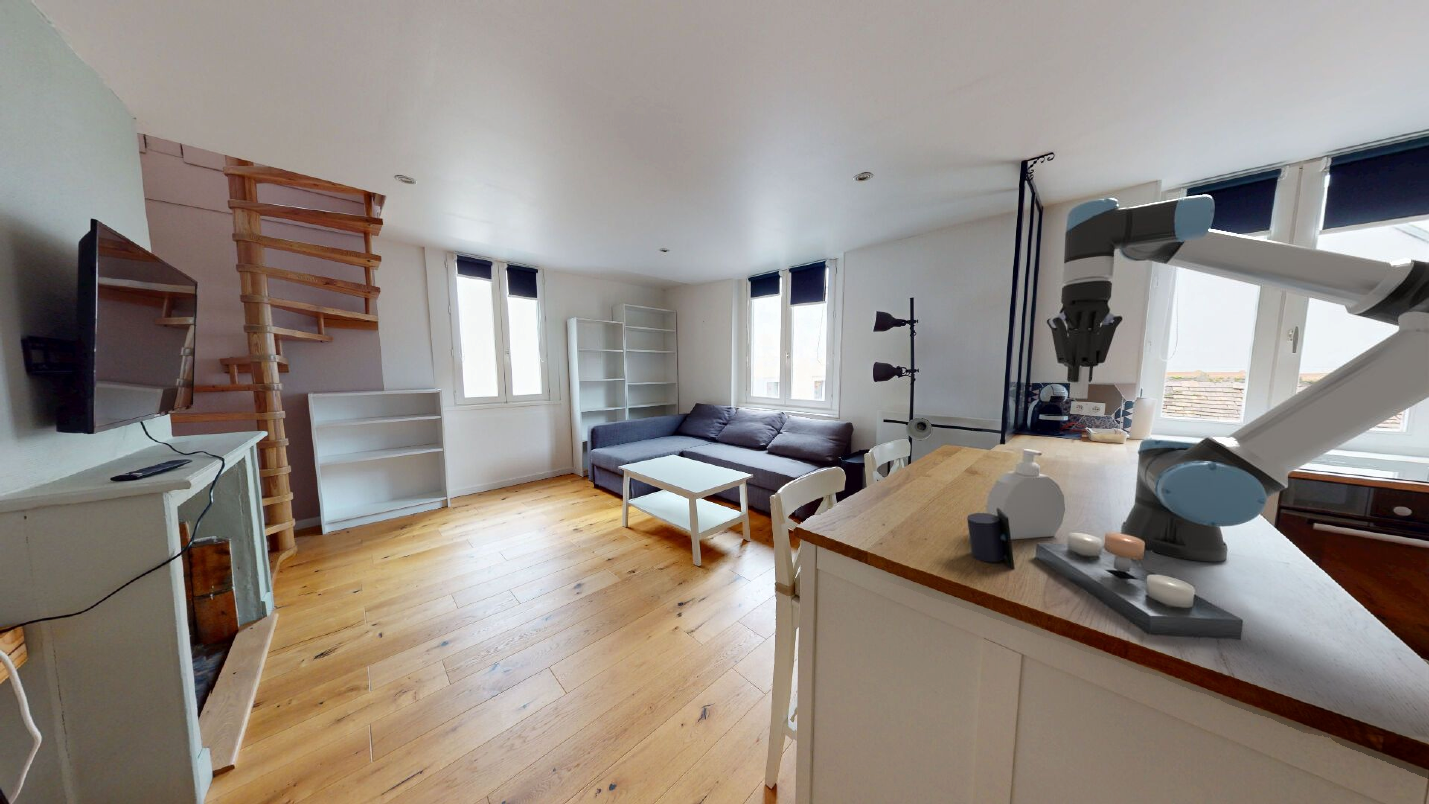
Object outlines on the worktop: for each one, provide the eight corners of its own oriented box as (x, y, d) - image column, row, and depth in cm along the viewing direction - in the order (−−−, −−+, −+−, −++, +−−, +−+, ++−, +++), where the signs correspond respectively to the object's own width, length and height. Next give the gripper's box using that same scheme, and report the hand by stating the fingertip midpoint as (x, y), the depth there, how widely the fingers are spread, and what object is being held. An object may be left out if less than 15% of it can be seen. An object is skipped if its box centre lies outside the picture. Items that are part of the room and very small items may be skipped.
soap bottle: (1003, 541, 90) (1008, 454, 88) (984, 531, 95) (988, 449, 93) (1065, 536, 92) (1071, 451, 90) (1043, 527, 97) (1049, 446, 95)
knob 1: (1086, 559, 80) (1088, 533, 80) (1107, 571, 75) (1109, 543, 75) (1060, 558, 81) (1062, 532, 80) (1079, 570, 76) (1081, 542, 75)
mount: (1098, 558, 81) (1100, 544, 81) (1241, 639, 58) (1243, 619, 57) (1035, 556, 83) (1036, 542, 82) (1149, 635, 59) (1150, 615, 58)
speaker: (1016, 557, 82) (1012, 507, 81) (1014, 569, 78) (1010, 518, 77) (972, 550, 87) (968, 503, 86) (968, 561, 83) (964, 512, 82)
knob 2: (1168, 607, 64) (1171, 575, 64) (1201, 627, 59) (1204, 592, 59) (1135, 606, 65) (1138, 574, 64) (1165, 625, 60) (1168, 590, 59)
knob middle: (1124, 562, 72) (1126, 533, 71) (1150, 576, 67) (1153, 545, 67) (1095, 561, 72) (1097, 532, 72) (1119, 575, 68) (1121, 544, 67)
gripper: (1105, 285, 85) (1096, 396, 87) (1039, 287, 86) (1032, 396, 88) (1139, 277, 77) (1128, 399, 80) (1066, 280, 79) (1058, 399, 81)
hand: (1078, 397), depth 84 cm, fingers closed
